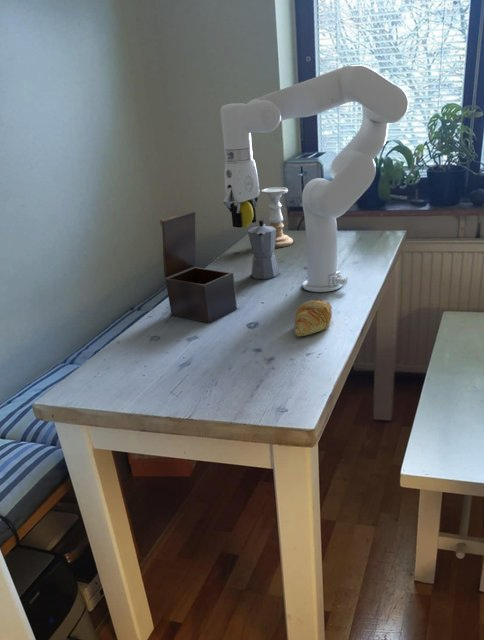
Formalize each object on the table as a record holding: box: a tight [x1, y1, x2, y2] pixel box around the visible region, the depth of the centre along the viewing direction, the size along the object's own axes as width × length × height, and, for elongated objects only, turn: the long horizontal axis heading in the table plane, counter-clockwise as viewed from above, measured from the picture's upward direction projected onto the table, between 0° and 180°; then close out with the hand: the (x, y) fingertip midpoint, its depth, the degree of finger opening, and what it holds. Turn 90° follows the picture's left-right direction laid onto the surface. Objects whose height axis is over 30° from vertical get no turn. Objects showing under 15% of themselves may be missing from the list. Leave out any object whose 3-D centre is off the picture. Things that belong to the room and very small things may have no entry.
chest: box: [165, 266, 238, 324], centre depth 177 cm, size 15×13×11 cm
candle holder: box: [260, 186, 294, 248], centre depth 236 cm, size 12×12×20 cm
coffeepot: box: [247, 219, 279, 280], centre depth 203 cm, size 15×9×18 cm, turn 176°
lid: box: [159, 211, 197, 278], centre depth 173 cm, size 16×13×5 cm
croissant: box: [294, 299, 333, 337], centre depth 163 cm, size 21×10×8 cm, turn 156°
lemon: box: [234, 201, 253, 229], centre depth 173 cm, size 6×6×8 cm
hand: (244, 223), depth 174 cm, fingers closed on lemon, 5 cm apart
